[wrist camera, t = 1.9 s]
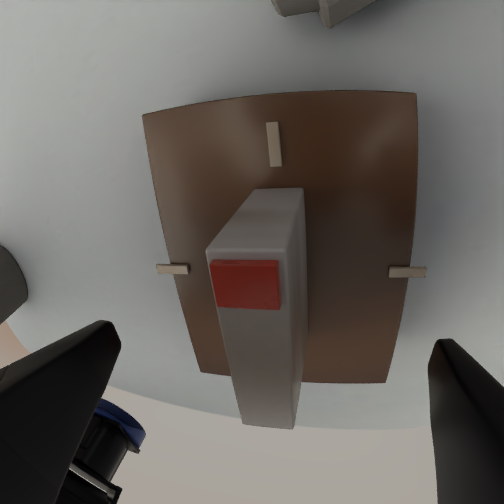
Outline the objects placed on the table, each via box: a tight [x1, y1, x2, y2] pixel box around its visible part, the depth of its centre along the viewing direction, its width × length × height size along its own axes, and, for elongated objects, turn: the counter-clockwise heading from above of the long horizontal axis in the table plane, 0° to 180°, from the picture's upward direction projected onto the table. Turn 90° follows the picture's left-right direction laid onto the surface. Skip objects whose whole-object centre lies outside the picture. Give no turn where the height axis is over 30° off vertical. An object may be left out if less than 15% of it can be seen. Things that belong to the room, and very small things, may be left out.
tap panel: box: [142, 90, 427, 383], centre depth 12 cm, size 12×10×3 cm
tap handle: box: [206, 188, 308, 429], centre depth 9 cm, size 6×2×5 cm, turn 6°
